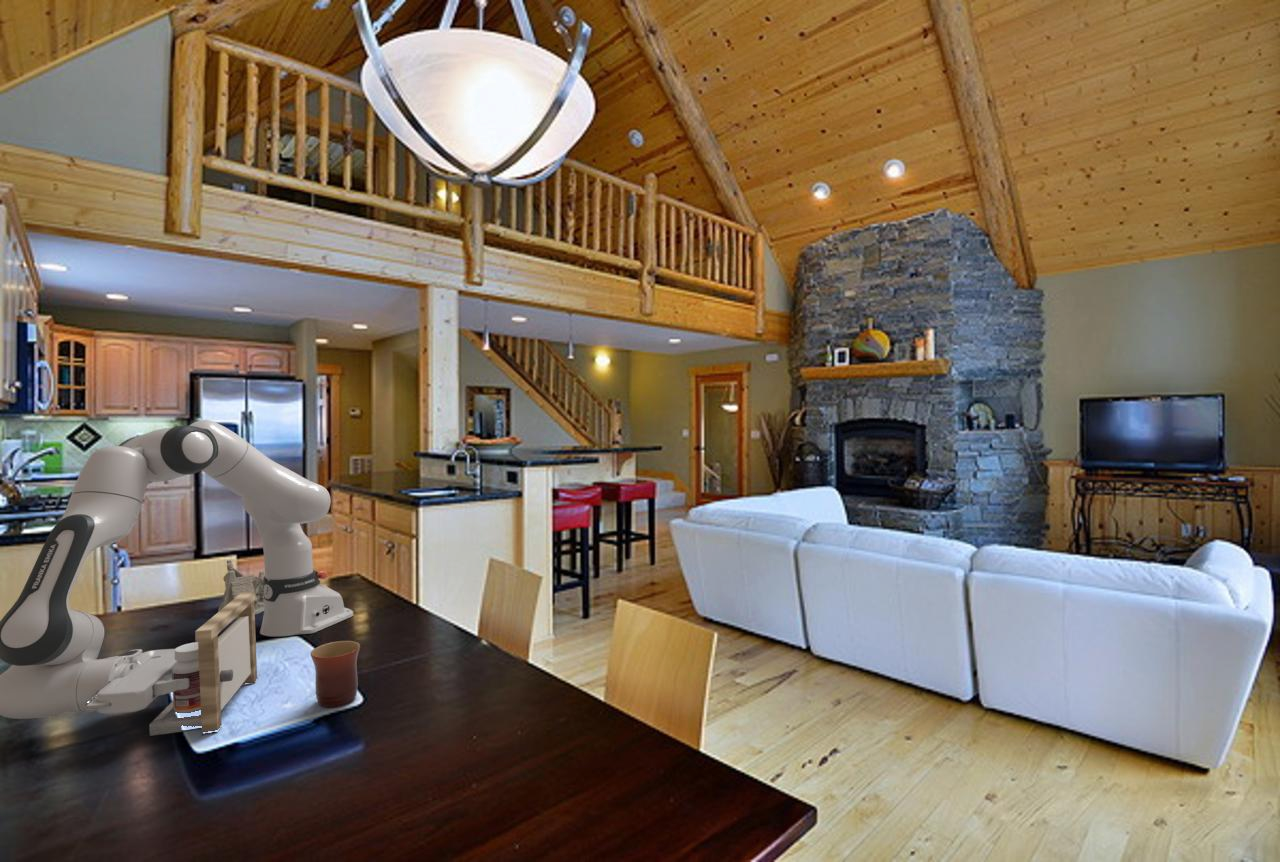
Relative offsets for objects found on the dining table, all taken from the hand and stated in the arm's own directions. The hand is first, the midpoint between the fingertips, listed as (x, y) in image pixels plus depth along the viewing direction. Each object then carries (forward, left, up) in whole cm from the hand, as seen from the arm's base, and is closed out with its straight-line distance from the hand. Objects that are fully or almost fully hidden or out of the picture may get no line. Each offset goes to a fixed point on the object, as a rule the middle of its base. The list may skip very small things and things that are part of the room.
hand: (198, 673), depth 118 cm
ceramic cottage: (-42, -59, -9) cm, 73 cm away
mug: (-18, +16, -8) cm, 25 cm away
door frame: (-6, 0, -8) cm, 10 cm away
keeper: (+1, -1, -8) cm, 8 cm away
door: (-6, +1, -6) cm, 8 cm away
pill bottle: (+1, -1, -6) cm, 6 cm away
